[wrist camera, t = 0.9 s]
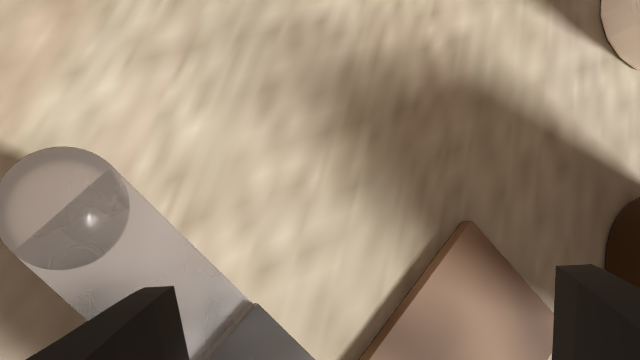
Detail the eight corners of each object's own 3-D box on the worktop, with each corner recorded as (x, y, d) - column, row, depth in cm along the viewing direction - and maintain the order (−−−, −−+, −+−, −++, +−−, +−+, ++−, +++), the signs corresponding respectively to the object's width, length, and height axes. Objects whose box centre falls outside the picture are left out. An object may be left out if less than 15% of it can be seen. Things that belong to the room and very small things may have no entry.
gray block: (237, 446, 22) (293, 509, 16) (-8, 224, 20) (-44, 206, 14) (294, 373, 24) (364, 408, 18) (71, 158, 21) (68, 117, 15)
